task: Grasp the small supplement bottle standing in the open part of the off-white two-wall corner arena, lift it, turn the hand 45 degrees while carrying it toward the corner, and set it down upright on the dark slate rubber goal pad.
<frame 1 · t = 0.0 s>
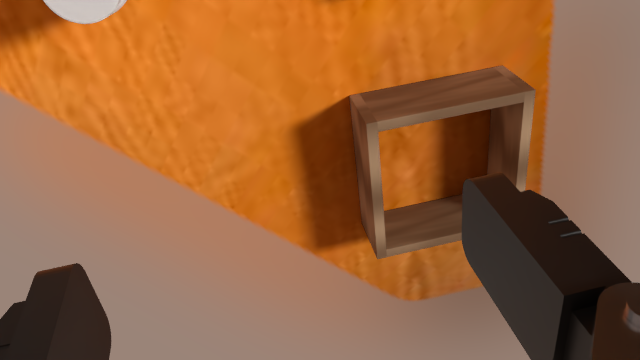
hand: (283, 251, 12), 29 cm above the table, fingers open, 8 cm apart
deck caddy: (428, 149, 47), on the table
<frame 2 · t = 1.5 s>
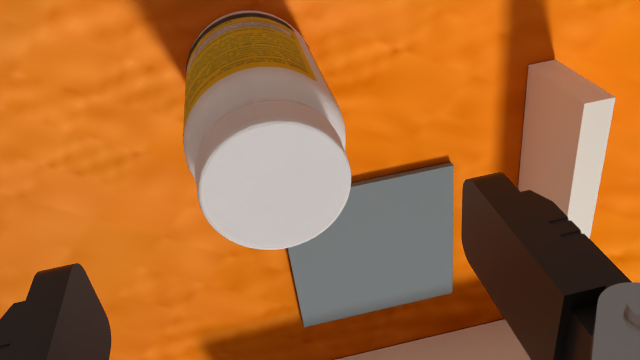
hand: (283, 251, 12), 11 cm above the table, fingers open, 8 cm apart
goal pad: (371, 248, 27), on the table
supplement bottle: (250, 69, 21), on the table
corner arena: (371, 248, 27), on the table
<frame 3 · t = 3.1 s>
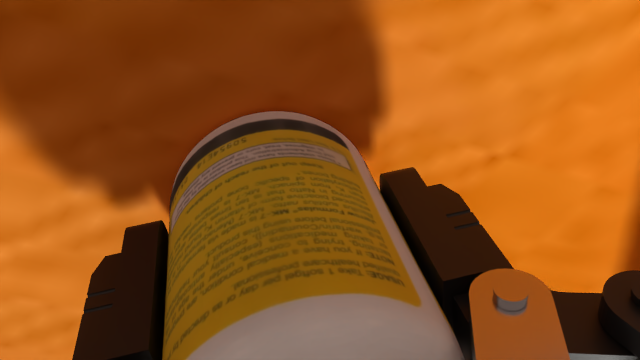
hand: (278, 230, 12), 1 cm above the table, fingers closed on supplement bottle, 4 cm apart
supplement bottle: (271, 191, 14), on the table, touching gripper
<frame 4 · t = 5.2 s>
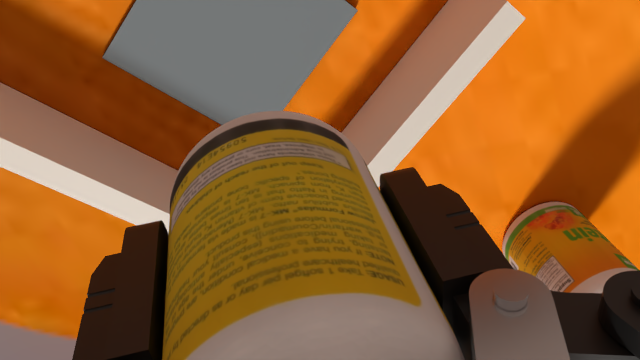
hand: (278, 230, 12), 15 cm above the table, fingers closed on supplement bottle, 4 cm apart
goal pad: (232, 31, 24), on the table
supplement bottle: (271, 191, 14), point 13 cm above the table, touching gripper
supplement bottle 2: (538, 232, 35), on the table
corner arena: (232, 31, 24), on the table
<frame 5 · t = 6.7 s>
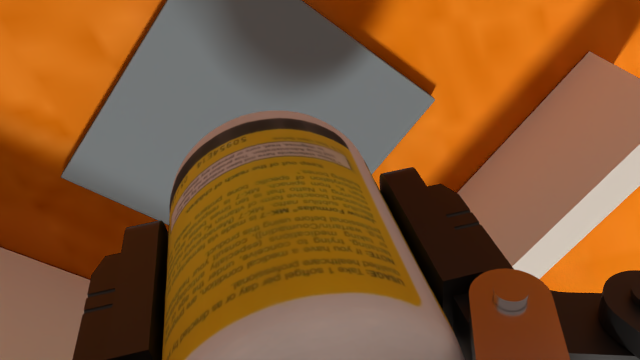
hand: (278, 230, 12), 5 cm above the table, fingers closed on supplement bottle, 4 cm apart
goal pad: (253, 132, 17), on the table
supplement bottle: (271, 190, 13), point 4 cm above the table, touching gripper
corner arena: (253, 132, 17), on the table
when the fingers open (3 cm above the table, at t = 7.6 s): supplement bottle drops 1 cm, resting on goal pad.
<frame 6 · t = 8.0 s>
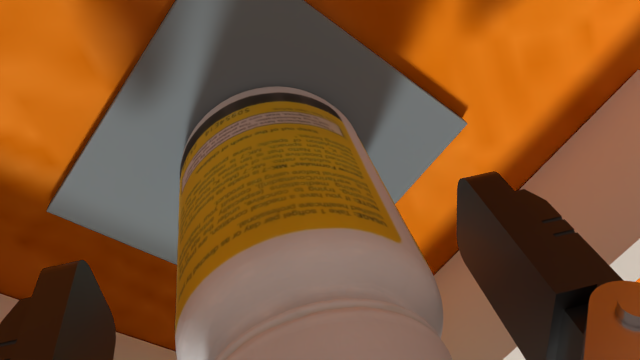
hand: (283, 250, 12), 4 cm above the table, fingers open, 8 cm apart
goal pad: (263, 160, 15), on the table
supplement bottle: (271, 162, 15), resting on goal pad
corner arena: (263, 160, 15), on the table
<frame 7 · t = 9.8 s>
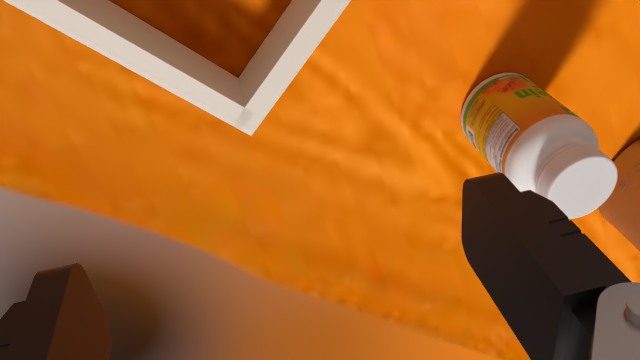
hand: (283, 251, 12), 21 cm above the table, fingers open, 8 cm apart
supplement bottle 2: (495, 107, 37), on the table
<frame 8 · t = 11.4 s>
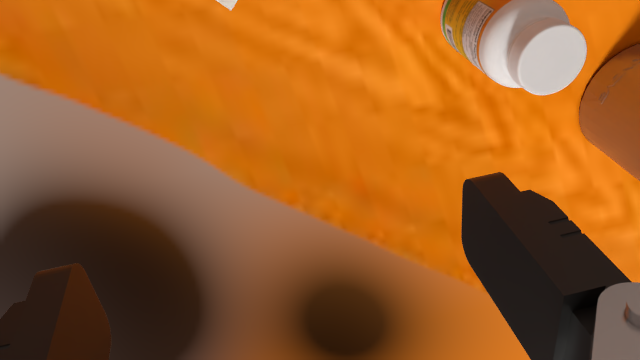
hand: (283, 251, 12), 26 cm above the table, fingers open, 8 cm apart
supplement bottle 2: (474, 11, 38), on the table
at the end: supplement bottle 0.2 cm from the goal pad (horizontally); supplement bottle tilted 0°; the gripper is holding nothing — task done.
